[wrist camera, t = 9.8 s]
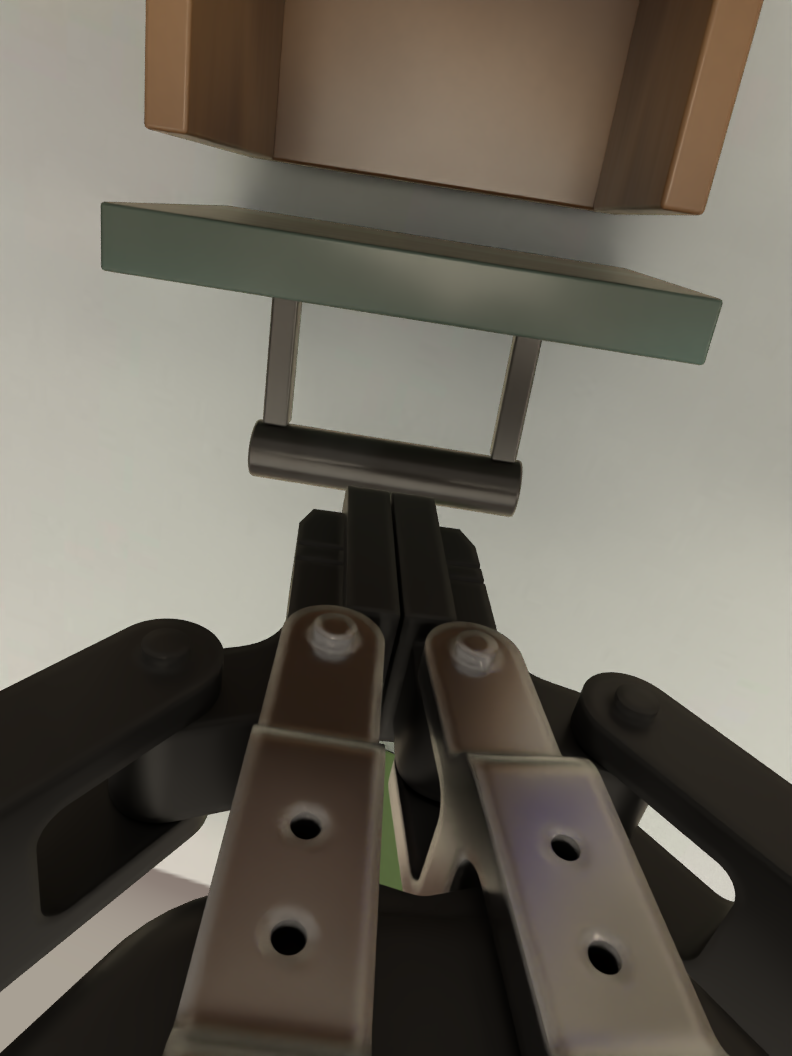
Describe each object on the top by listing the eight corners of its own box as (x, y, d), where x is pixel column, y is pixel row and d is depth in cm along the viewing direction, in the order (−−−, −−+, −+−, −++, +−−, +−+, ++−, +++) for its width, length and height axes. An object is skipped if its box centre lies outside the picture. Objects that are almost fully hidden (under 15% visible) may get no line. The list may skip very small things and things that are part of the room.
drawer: (577, 466, 24) (637, 589, 16) (215, 409, 24) (101, 502, 16) (775, -323, 16) (1055, -787, 9) (257, -402, 17) (89, -928, 9)
